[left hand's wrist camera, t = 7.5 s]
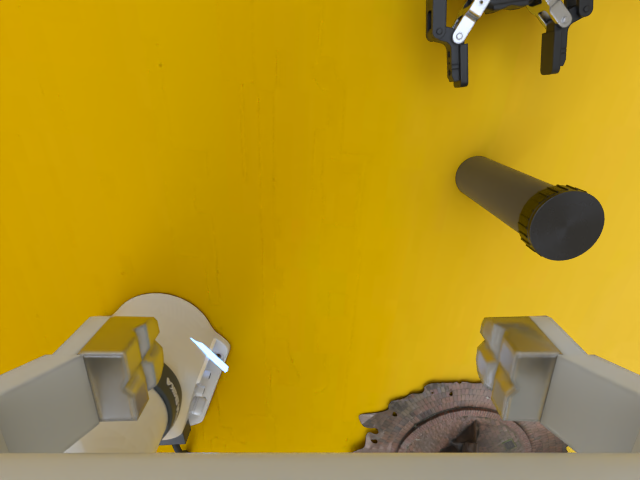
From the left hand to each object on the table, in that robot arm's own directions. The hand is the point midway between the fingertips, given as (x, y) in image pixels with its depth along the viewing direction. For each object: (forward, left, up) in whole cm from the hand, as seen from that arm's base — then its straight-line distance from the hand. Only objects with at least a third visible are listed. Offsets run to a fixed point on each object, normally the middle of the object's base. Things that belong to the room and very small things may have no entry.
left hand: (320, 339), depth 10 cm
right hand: (+10, -17, -33) cm, 38 cm away
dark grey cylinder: (-1, -20, -40) cm, 45 cm away
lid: (-1, -20, -21) cm, 29 cm away
